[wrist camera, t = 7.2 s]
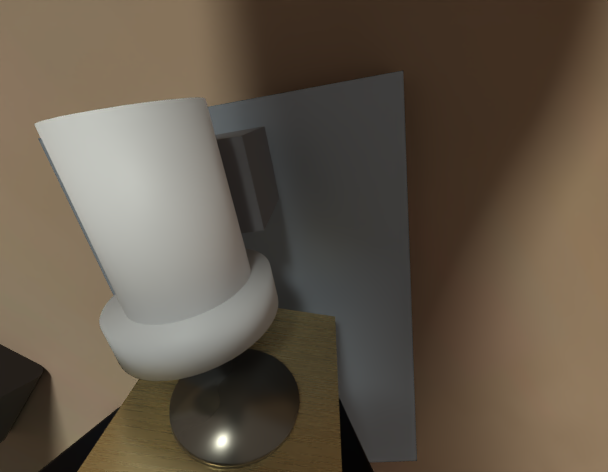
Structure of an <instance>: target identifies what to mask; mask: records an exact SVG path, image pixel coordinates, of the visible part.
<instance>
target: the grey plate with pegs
mask: <svg viewBox="0 0 608 472" xmlns="http://www.w3.org/2000/svg"><path fill="white" fill-rule="evenodd" d="M34 125H35V127H36V129H37V131H38V133H39V135H40V137H41V138H38V139H39V141H40V143H41V146H42V148H43V150H44V152H45V154H46V156H47V158H48V160H49V162H50V164H51V166H52V168H53V170H54V173H55V175H56V177H57V179H58V181H59V183H60V185H61V187H62V189H63V191H64V193H65V195H66V197H67V200H68V202H69V204H70V206H71V208H72V210H73V212H74V214H75V216H76V218H77V220H78V222H79V224H80V226H81V229H82V231H83V233H84V235H85V237H86V239H87V241H88V243H89V245H90V247H91V249H92V251H93V253H94V256H95V258H96V260H97V262H98V264H99V266H100V268H101V270H102V272H103V274H104V276H105V278H106V280H107V282H108V285H109V287H110V289H111V291H112V293H113V295H114V296H113V297H112V298H111V299H110V300H109V301H108V302H107V304H106V305H105V307H104V308H103V310H102V313H101V315H100V321H99V323H100V328H101V330H102V332H103V334H104V335H105V337H106V339H107V341H108V343H109V345H110V347H111V349H112V351H113V353H114V354H115V356H116V358H117V360H118V362H119V364H120V365H121V367H122V369H123V370H124V371H125V372H127V373H128V374H129V375H131V376H133V377H135V378H139V379H142V380H148V381H170V380H178V379H183V378H187V377H192V376H195V375H198V374H201V373H204V372H207V371H209V370H211V369H214V368H216V367H218V366H220V365H222V364H224V363H226V362H228V361H230V360H232V359H233V358H235V357H236V356H238V355H240V354H241V353H243V352H244V351H245V350H247V349H248V348H249V347H251V346H252V345H253V344H254V343H255V342H256V341H257V340H258V339H260V337H261V336H262V335H263V334H264V333H265V332H266V331H267V329H268V328H269V327H270V325H271V324H272V322H273V320H274V318H275V316H276V313H277V310H278V308H281V309H288V310H295V311H301V312H308V313H315V314H321V315H328V316H335V326H336V349H337V371H338V393H339V398H340V400H341V402H342V404H343V406H344V408H345V411H346V413H347V415H348V417H349V419H350V421H351V424H352V426H353V428H354V430H355V432H356V434H357V437H358V439H359V441H360V443H361V445H362V447H363V449H364V452H365V454H366V456H367V458H368V460H369V462H396V461H417V450H416V421H415V393H414V364H413V336H412V307H411V278H410V250H409V221H408V193H407V164H406V136H405V107H404V79H403V71H398V72H393V73H387V74H382V75H376V76H371V77H366V78H360V79H355V80H350V81H344V82H339V83H333V84H328V85H323V86H317V87H312V88H307V89H301V90H296V91H291V92H285V93H280V94H274V95H269V96H264V97H258V98H253V99H248V100H242V101H237V102H231V103H226V104H221V105H215V106H210V107H208V106H207V103H206V99H205V98H182V99H171V100H162V101H153V102H146V103H138V104H131V105H124V106H117V107H111V108H104V109H98V110H92V111H87V112H81V113H76V114H70V115H65V116H61V117H56V118H51V119H47V120H44V121H40V122H37V123H35V124H34Z"/></svg>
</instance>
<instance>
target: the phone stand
mask: <svg viewBox="0 0 608 472" xmlns="http://www.w3.org/2000/svg"><path fill="white" fill-rule="evenodd" d="M42 372H43V368H42V366H41V365H39V364H37V363H35V362H33V361H32V360H30V359H28V358H26V357H24V356H22V355H20V354H18V353H16V352H14V351H12V350H10V349H8V348H6V347H5V346H3V345H1V344H0V443H1V442H2V441H3V440H4V439H5V438H6V436H7V434H8V433H9V431H10V429H11V427H12V425H13V424H14V422H15V420H16V418H17V417H18V415H19V413H20V411H21V410H22V408H23V406H24V404H25V402H26V401H27V399H28V397H29V395H30V394H31V392H32V390H33V388H34V387H35V385H36V383H37V381H38V380H39V378H40V376H41V374H42Z"/></svg>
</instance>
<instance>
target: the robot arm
mask: <svg viewBox="0 0 608 472" xmlns="http://www.w3.org/2000/svg"><path fill="white" fill-rule="evenodd" d="M120 407H121V406H120ZM120 407H119V408H120ZM119 408H117V409H116V410H115V411H114V412H112V413H111V414H110V415H109V416H107V417H106V418H105V419H104V420H102V421H101V422H100V423H99V424H97V425H96V426H95V427H94V428H92V429H91V430H90V431H89V432H87V433H86V434H85V435H84V436H82V437H81V438H80V439H79V440H78V441H76V442H75V443H74V444H73V445H71V446H70V447H69V448H68V449H66V450H65V451H64V452H63V453H61V454H60V455H59V456H58V457H56V458H55V459H54V460H53V461H51V462H50V463H49V464H48V465H46V466H45V467H44V468H43V469H41V470H40V471H39V472H77V471H78V470H79V468H80V467H81V465H82V464H83V462H84V461H85V459H86V458H87V456H88V455H89V453H90V452H91V450H92V449H93V447H94V446H95V444H96V443H97V441H98V440H99V438H100V437H101V435H102V434H103V432H104V431H105V429H106V428H107V426H108V425H109V423H110V422H111V420H112V419H113V417H114V416H115V414H116V413H117V411H118V410H119ZM339 415H340V438H341V460H342V472H374V471H373V469H372V467H371V465H370V462H369V460H368V458H367V456H366V454H365V452H364V449H363V447H362V445H361V443H360V441H359V439H358V437H357V434H356V432H355V430H354V428H353V426H352V424H351V421H350V419H349V417H348V415H347V413H346V411H345V408H344V406H343V404H342V402H341V400H340V398H339Z"/></svg>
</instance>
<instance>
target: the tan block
mask: <svg viewBox="0 0 608 472" xmlns="http://www.w3.org/2000/svg"><path fill="white" fill-rule="evenodd" d="M77 472H342V460H341V438H340V415H339V393H338V371H337V349H336V326H335V316H328V315H321V314H315V313H308V312H301V311H295V310H288V309H281V308H278V310H277V313H276V316H275V318H274V320H273V322H272V324H271V325H270V327H269V328H268V329H267V331H266V332H265V333H264V334H263V335H262V336H261V337H260V339H258V340H257V341H256V342H255V343H254V344H253V345H252V346H251V347H249V348H248V349H247V350H245V351H244V352H243V353H241V354H240V355H238V356H236V357H235V358H233V359H232V360H230V361H228V362H226V363H224V364H222V365H220V366H218V367H216V368H214V369H211V370H209V371H207V372H204V373H201V374H198V375H195V376H192V377H187V378H183V379H178V380H170V381H148V380H142V379H139V380H138V382H137V383H136V385H135V386H134V388H133V389H132V391H131V392H130V393H129V395H128V396H127V398H126V399H125V401H124V402H123V404H122V405H121V407H120V408H119V410H118V411H117V413H116V414H115V416H114V417H113V419H112V420H111V422H110V423H109V425H108V426H107V428H106V429H105V431H104V432H103V434H102V435H101V437H100V438H99V440H98V441H97V443H96V444H95V446H94V447H93V449H92V450H91V452H90V453H89V455H88V456H87V458H86V459H85V461H84V462H83V464H82V465H81V467H80V468H79V470H78V471H77Z"/></svg>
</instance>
